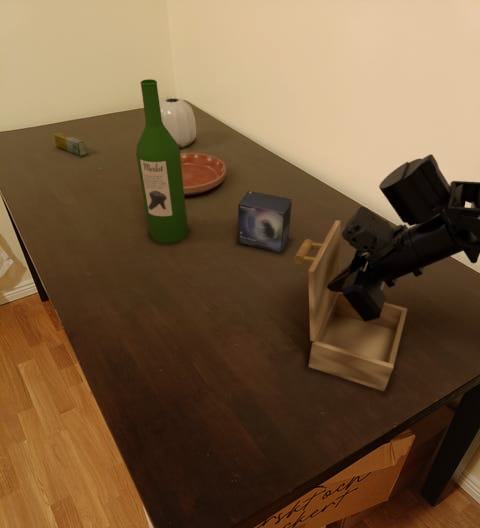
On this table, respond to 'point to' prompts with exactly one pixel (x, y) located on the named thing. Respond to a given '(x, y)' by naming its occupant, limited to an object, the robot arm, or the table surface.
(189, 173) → the saucer
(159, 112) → the wine bottle
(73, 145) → the medication box
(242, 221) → the small box
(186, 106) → the vase
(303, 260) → the chest lid
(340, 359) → the chest
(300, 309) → the table surface
